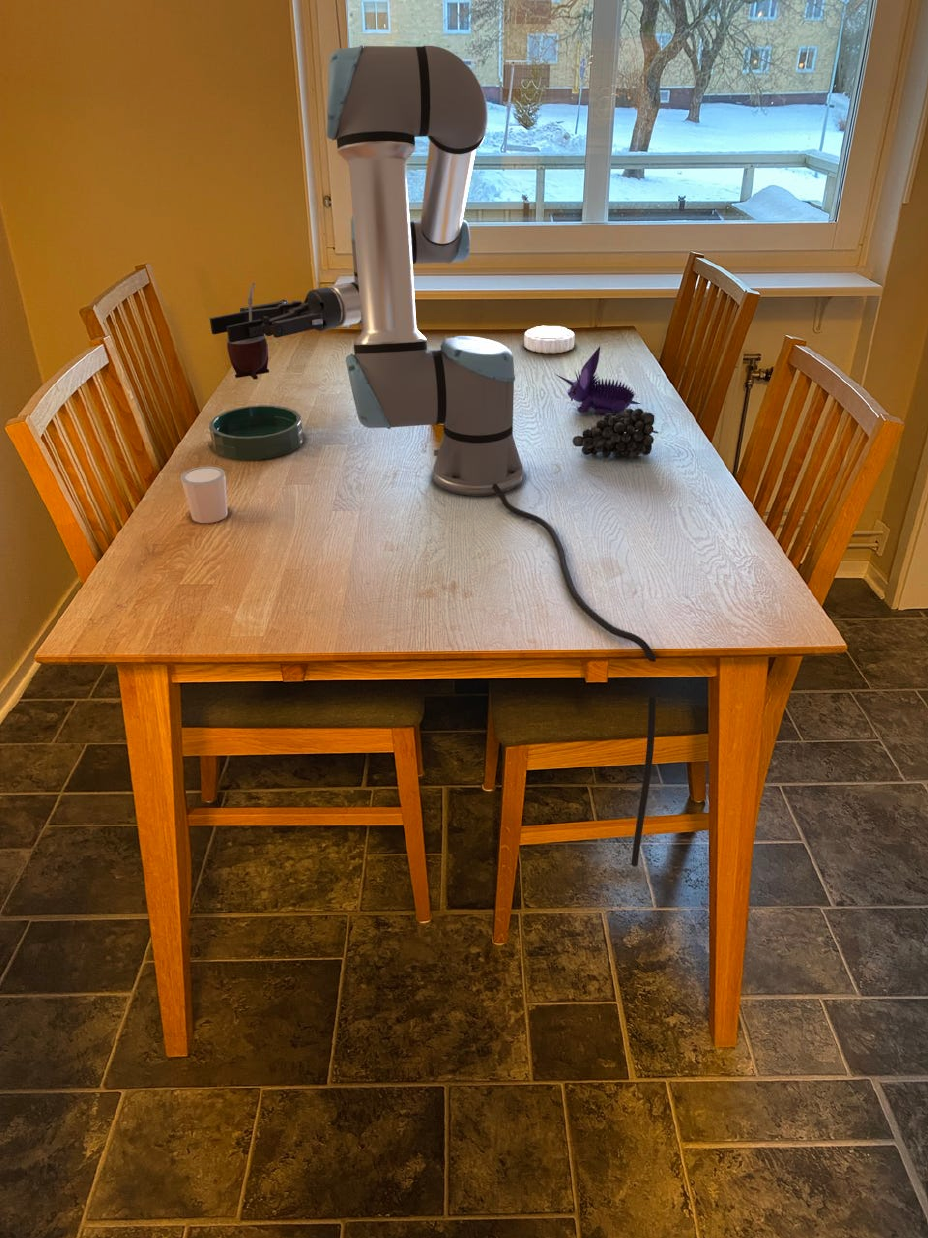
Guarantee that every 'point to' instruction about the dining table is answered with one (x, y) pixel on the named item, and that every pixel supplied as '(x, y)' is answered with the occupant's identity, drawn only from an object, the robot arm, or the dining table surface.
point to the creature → (598, 391)
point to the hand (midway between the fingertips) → (220, 330)
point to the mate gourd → (249, 352)
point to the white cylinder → (205, 493)
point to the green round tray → (256, 432)
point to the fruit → (619, 435)
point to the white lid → (549, 339)
